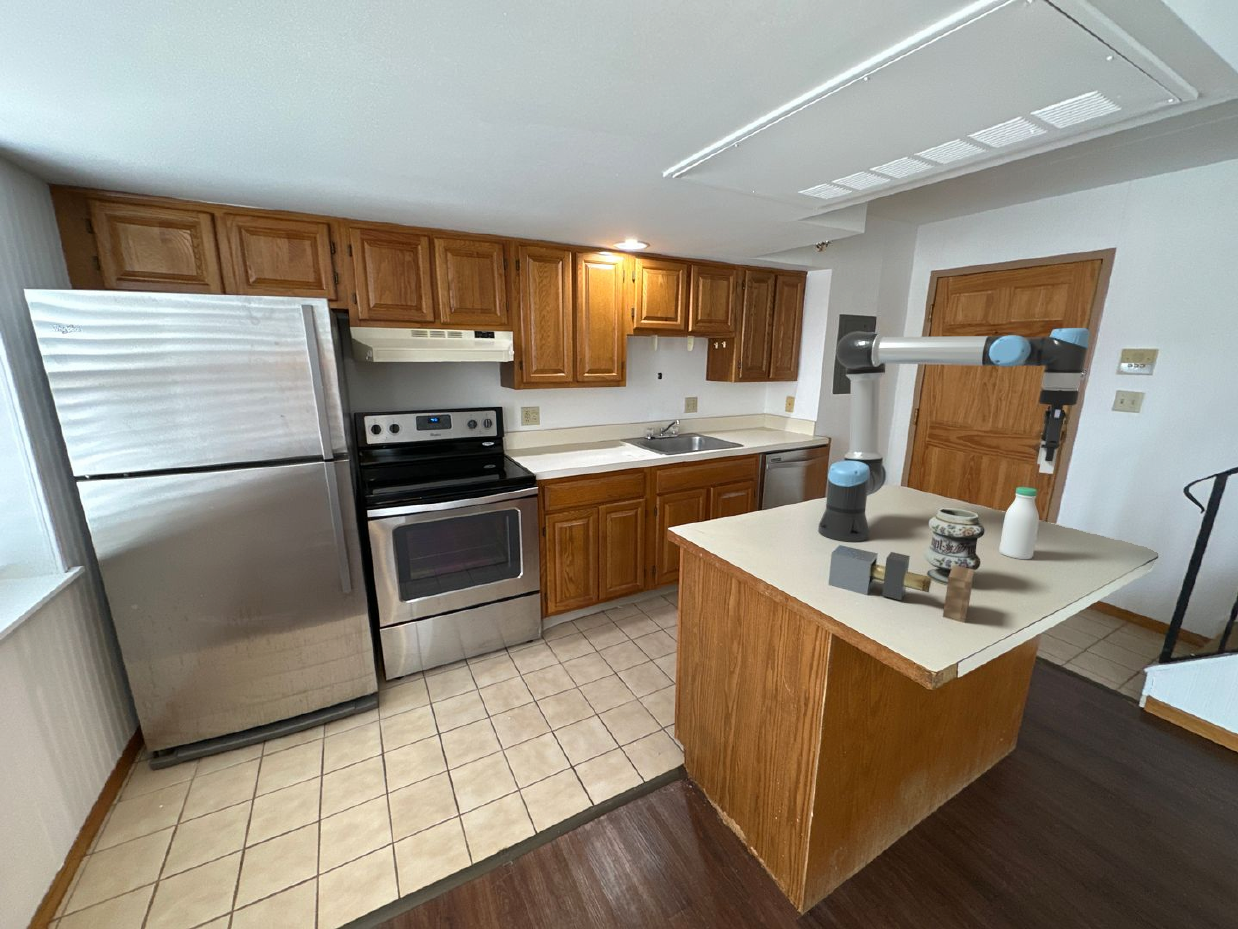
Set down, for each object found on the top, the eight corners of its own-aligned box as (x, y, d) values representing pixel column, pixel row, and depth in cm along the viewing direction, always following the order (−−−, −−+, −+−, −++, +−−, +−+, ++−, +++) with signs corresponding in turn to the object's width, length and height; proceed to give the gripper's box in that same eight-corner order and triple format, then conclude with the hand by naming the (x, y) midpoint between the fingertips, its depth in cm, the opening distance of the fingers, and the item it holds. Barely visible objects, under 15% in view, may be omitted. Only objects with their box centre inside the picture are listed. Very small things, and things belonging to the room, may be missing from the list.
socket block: (942, 616, 108) (948, 576, 106) (947, 603, 114) (953, 565, 112) (964, 622, 105) (971, 581, 103) (968, 608, 111) (974, 569, 109)
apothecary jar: (964, 571, 131) (974, 507, 128) (986, 591, 120) (997, 521, 116) (914, 567, 134) (922, 504, 130) (931, 586, 122) (941, 517, 119)
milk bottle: (1038, 561, 138) (1051, 492, 133) (1007, 559, 139) (1019, 491, 135) (1022, 551, 145) (1034, 485, 141) (993, 549, 146) (1003, 484, 142)
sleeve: (828, 584, 123) (831, 553, 122) (836, 575, 129) (839, 545, 127) (867, 595, 118) (870, 562, 116) (874, 585, 123) (877, 553, 121)
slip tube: (834, 582, 124) (837, 547, 122) (839, 575, 127) (843, 541, 125) (925, 607, 111) (931, 568, 109) (929, 599, 115) (934, 561, 113)
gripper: (1084, 392, 116) (1066, 479, 120) (1074, 387, 135) (1059, 462, 139) (1043, 391, 120) (1027, 474, 125) (1039, 386, 139) (1025, 459, 144)
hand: (1044, 468), depth 132 cm, fingers open, 13 cm apart
